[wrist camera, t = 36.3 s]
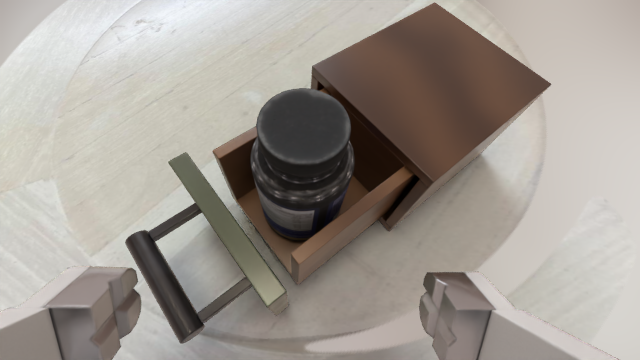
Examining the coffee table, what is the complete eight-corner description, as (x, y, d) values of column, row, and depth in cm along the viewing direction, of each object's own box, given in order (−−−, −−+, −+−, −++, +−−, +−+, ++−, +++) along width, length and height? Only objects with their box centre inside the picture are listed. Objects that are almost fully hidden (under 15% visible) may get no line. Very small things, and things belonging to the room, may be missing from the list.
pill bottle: (315, 163, 26) (327, 63, 17) (352, 221, 24) (391, 145, 14) (250, 193, 25) (221, 100, 15) (283, 258, 22) (275, 200, 13)
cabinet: (388, 231, 26) (434, 182, 18) (306, 142, 30) (311, 65, 21) (480, 153, 31) (551, 84, 22) (400, 84, 34) (434, 1, 26)
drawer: (218, 364, 20) (177, 380, 13) (147, 243, 23) (86, 205, 16) (395, 216, 26) (431, 173, 19) (319, 136, 29) (326, 74, 22)
